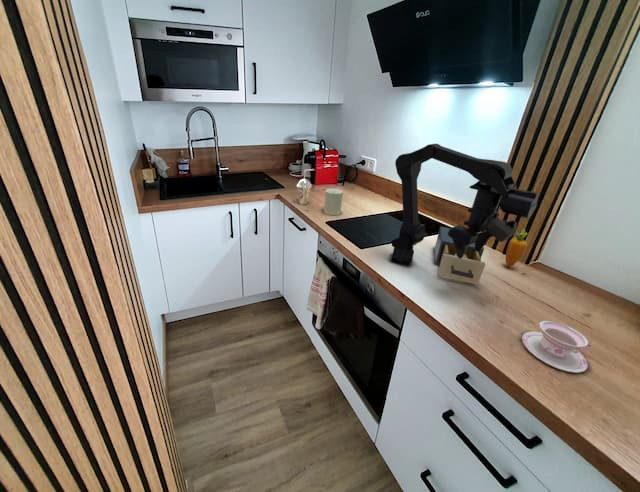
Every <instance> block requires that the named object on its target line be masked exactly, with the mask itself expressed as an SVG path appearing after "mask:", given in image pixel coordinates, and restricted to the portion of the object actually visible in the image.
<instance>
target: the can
mask: <svg viewBox="0 0 640 492" xmlns="http://www.w3.org/2000/svg"><path fill="white" fill-rule="evenodd" d="M324 193H325V194H324V202H323V203H324V204H323V211H322V212H323V213H324V214H326V215H330V216H339V215H341V214H342V205H343V204H342V203H343V194H344V190H342V189H341V188H335V187H333V188H326V189H325V192H324Z"/></svg>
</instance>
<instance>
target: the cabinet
mask: <svg viewBox="0 0 640 492" xmlns="http://www.w3.org/2000/svg"><path fill="white" fill-rule="evenodd" d="M450 228H451V227H445V226H440V227H439V229H438V234H437V238H436V241H435V244H434V265H437V266H440V255H441V252H442V249H443V245H444V244H449V245H454V243H453V240H452V238H451V237H450V236H448V232H449V229H450ZM468 248H469V249H474V250H475V243H473V244H470V245H469V246H468ZM484 251H485V248H484V247H483V248H482V249H481V250H480V252H478V253H479V256H480V259H482V257H483V254H484Z"/></svg>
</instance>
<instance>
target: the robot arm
mask: <svg viewBox="0 0 640 492" xmlns="http://www.w3.org/2000/svg"><path fill="white" fill-rule="evenodd" d="M431 159H433V160H435V161H439V162H441V163H444V164H446V165H448V166H451V167H454V168H456V169H459V170H461V171H465V172H466V173H468V174H470V176H471V177H473V178H474V179H475V180H478V181H477V182H475V183H474V184H472V185H469V189H471V190H476V194H475V197H474V200H473V202H472V203H473V204H472V205H471V207H468V209H467V212H468V213H469V216H468V219H467V220H464V222H463V225H461V224H459V225H456V226H452V227H449V228H450V229H449V232H448V236H450V237H451V238H452V240H453V243H454V246H455V249H456V253H457V257H458V258H460V259H461V258H462V257H463V256H464V254H465V252H466V250H467V248H468V246H469V245H470V244H473V243H475V251H477V252H480V250H481V249H482V248H484V247H485V246H486V244H487V243H488V242H489V240H490V239H492V238H493V237H494V238H495V240H496V241H497V242H501V243H502V242H504V241H505V242H506V241H508V240H510V238H511V237H512V236H514V235H516V234H515V233H516V232H517V231H518V229H517V227H518V222H517V221H515V220H514V219H511V220H509V221H506V220H504V219H503V220H502V219H500V213H499V211H497V210H498V207H499V210H501V211H502V213H506V214H509V215H513V216H515V217H520V218H524V219H526V220H528V219H530V218H531V217H532V215H533V214H534V212H535V210H536V208H537V206H538V197H539V192H538V191H531V190H530V191H529V190H524V189H519V188H517V187H518V185H517V184H516V182H515V179H514V178H513V176H512V175H513V168H512V166H511V164H509V163H508V162H505V161H501V160H495V159H488V158H487V159H486V158H479V157H475V156H472V155H469V154H466V153H463V152H460V151H457V150H454V149H451V148H449V147H445V146H442V145H441V144H439V143H432V144H430V143H429V144H427V145H425V146H424V147H422V148H419V149H417V150H414V151H411V152H409V153H402V154H400V155H399V156H397V158H396V159H395V162H394V163H395V164H394V165H395V169H396V173H397V175H398V177H399V179H400V181H401V195H402V196H401V197H402V219H403V220H402V224H401V226H400V229H399V234H398V237H396V238H394V239H392V240H391V241H390V243H391V247H393V250H392V254H391V258H390V262H391V263H393V264H394V263H395V264H398V265H402V266H403V265H404V266H407V267H409V266H411V263H412V262H413V258H414V255H415V249H414V246H417V244H420V243H421V242H422V241H424V239H425V237H426V236H427V234H426V224H424V223H423V224H421V221H420V220H419V201H418V200H419V199H418V197H419V196H418V179H419V178H418V177H419V175H420V173H421V170H422V164H423V163H425V162H427V161H429V160H431ZM464 225H465V226H464ZM466 226H467V227H466Z"/></svg>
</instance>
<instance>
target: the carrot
mask: <svg viewBox="0 0 640 492" xmlns="http://www.w3.org/2000/svg"><path fill="white" fill-rule="evenodd" d="M514 235H515V236H516V237H512V238H511V239H509V242H508V245H507V248H506V252H505V264H506V266H507V268H511V267H513V266H514V265H515V264H516V263H517V262H518V261H519V260H520V259H521V257H522V256H523V254H524V253H525V250H526V249H527V247H528V241H526V240H525V238H526V237H527V236H528V232H526V229H524V228H522V229H521V232H520V233H518V232H517V231H516V233H515V234H514Z"/></svg>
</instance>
